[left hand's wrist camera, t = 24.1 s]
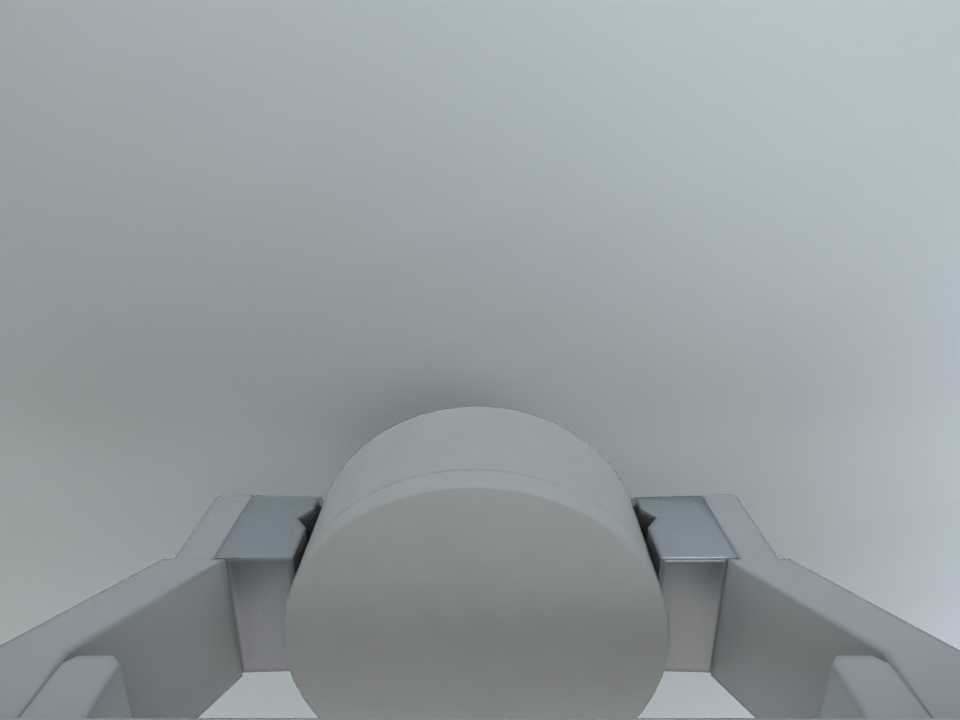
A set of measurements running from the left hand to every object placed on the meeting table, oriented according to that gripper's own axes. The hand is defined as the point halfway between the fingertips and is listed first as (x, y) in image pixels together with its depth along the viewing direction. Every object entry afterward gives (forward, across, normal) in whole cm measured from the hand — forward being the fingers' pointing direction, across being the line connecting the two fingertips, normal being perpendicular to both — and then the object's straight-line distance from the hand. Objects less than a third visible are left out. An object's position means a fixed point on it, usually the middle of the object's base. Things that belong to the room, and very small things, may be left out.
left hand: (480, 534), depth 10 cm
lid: (-2, 0, 0) cm, 2 cm away
